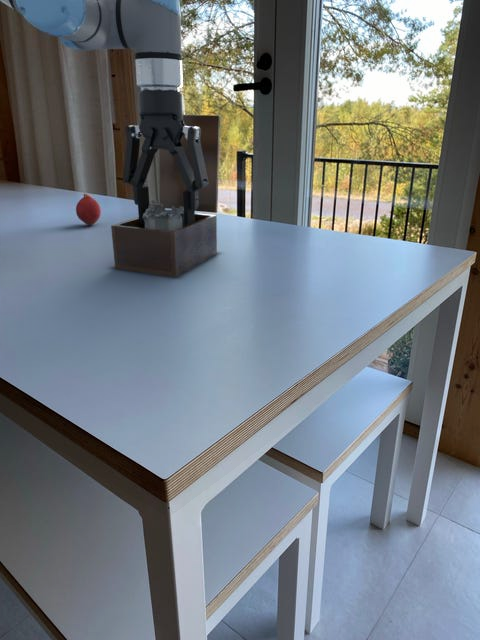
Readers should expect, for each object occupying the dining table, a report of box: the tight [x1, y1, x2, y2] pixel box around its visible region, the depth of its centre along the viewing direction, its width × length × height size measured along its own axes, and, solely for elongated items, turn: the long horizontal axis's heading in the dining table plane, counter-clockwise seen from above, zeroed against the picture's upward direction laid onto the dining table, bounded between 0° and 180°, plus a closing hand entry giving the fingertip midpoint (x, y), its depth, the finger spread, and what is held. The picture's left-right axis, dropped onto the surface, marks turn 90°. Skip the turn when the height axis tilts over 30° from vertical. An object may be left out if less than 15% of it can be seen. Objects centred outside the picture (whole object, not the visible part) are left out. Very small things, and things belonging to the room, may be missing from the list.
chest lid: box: [158, 114, 221, 214], centre depth 92 cm, size 18×13×1 cm
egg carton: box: [143, 199, 184, 231], centre depth 87 cm, size 11×8×4 cm
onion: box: [75, 192, 102, 227], centre depth 117 cm, size 6×6×8 cm
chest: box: [110, 212, 218, 278], centre depth 89 cm, size 17×13×8 cm
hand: (166, 224), depth 88 cm, fingers closed on egg carton, 9 cm apart
